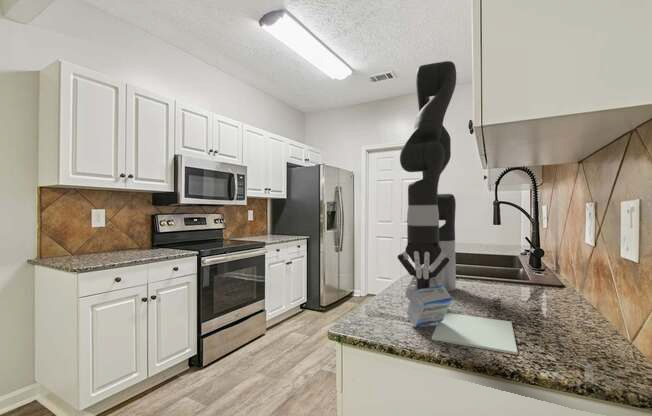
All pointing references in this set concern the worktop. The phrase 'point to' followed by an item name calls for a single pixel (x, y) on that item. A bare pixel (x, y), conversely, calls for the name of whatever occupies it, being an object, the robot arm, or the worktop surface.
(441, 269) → the robot arm
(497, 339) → the cutting board
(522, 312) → the worktop surface
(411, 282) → the heart
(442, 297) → the medicine box
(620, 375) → the worktop surface
